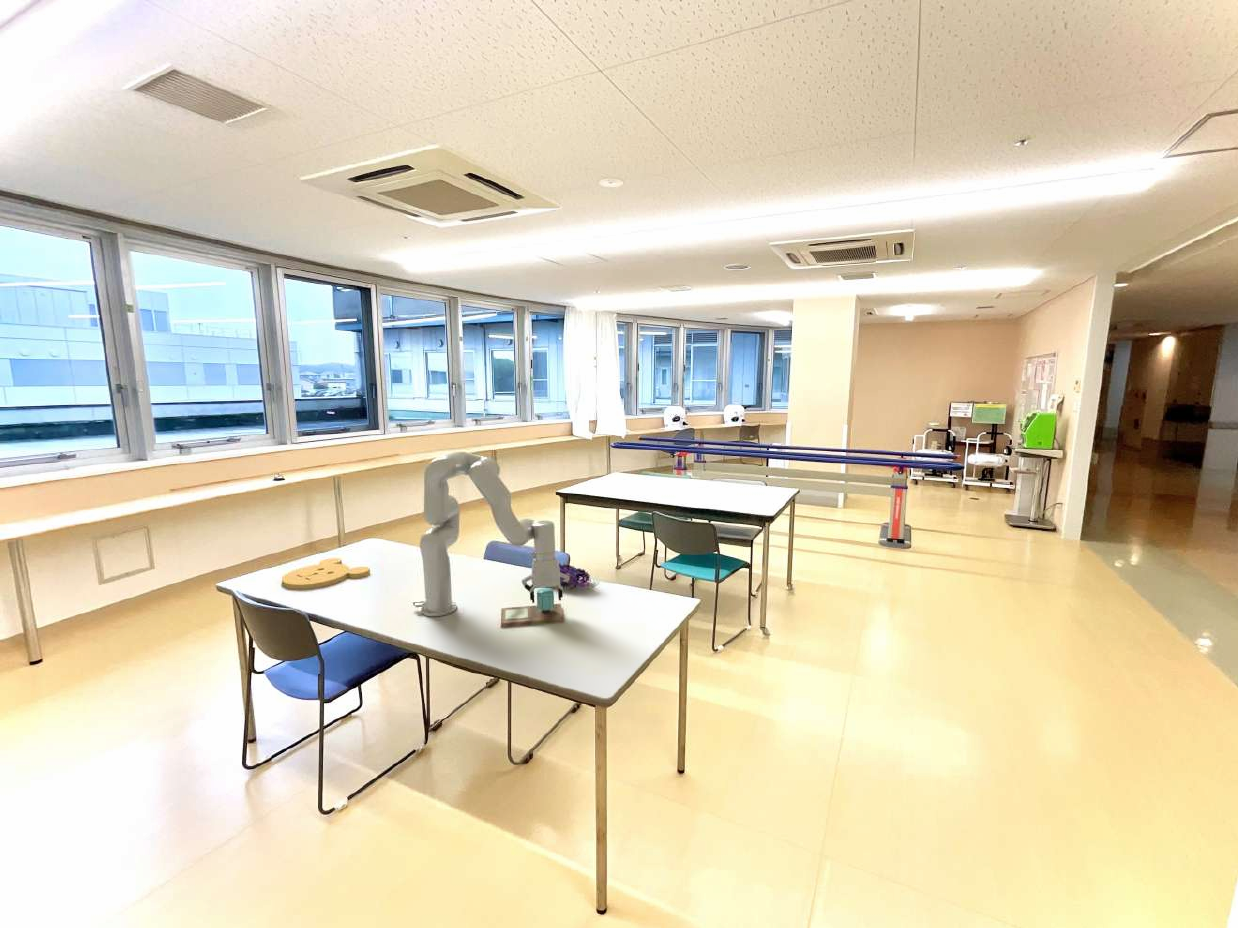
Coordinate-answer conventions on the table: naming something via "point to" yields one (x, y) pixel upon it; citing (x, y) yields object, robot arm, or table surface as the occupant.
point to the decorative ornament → (575, 576)
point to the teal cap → (545, 599)
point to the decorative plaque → (322, 575)
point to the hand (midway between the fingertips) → (546, 600)
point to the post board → (530, 616)
